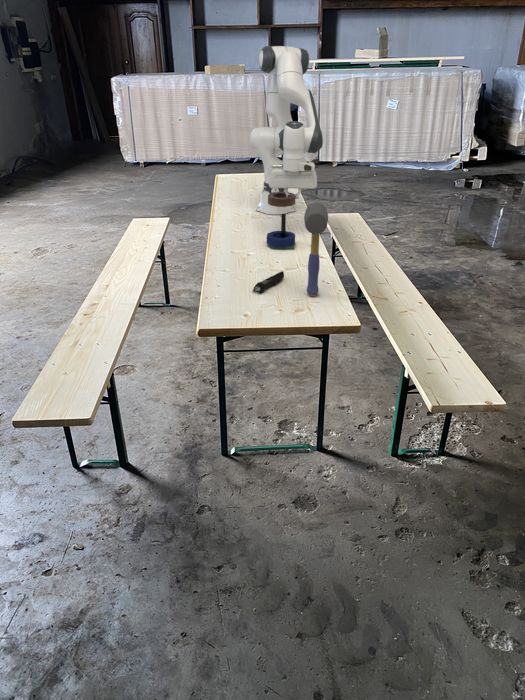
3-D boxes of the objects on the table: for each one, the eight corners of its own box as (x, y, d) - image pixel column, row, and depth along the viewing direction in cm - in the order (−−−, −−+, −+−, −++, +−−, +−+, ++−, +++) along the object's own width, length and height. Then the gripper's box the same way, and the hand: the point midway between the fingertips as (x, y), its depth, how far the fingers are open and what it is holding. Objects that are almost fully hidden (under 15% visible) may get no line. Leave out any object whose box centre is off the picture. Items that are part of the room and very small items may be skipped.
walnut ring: (269, 199, 231) (269, 191, 229) (295, 199, 230) (295, 192, 228) (267, 206, 221) (267, 198, 219) (294, 207, 220) (295, 199, 218)
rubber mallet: (323, 303, 172) (329, 211, 156) (300, 302, 172) (304, 211, 157) (323, 288, 182) (328, 200, 167) (301, 287, 183) (304, 200, 168)
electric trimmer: (286, 280, 189) (287, 272, 187) (261, 294, 178) (261, 285, 176) (278, 278, 191) (278, 269, 189) (252, 291, 180) (252, 283, 178)
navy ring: (268, 237, 225) (268, 230, 223) (295, 238, 224) (295, 231, 222) (265, 246, 215) (265, 239, 213) (294, 247, 214) (294, 240, 212)
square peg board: (272, 241, 224) (273, 210, 217) (294, 242, 224) (294, 211, 217) (271, 248, 216) (271, 217, 210) (293, 249, 216) (294, 217, 209)
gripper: (267, 166, 215) (267, 200, 222) (318, 166, 214) (316, 201, 221) (268, 162, 220) (268, 196, 227) (317, 163, 219) (316, 196, 226)
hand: (292, 198), depth 224 cm, fingers closed on walnut ring, 2 cm apart
